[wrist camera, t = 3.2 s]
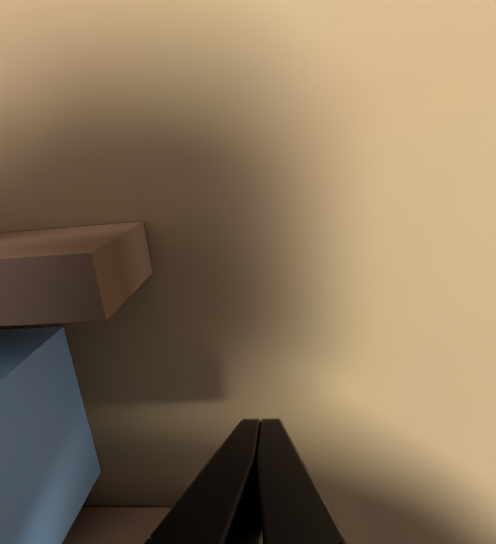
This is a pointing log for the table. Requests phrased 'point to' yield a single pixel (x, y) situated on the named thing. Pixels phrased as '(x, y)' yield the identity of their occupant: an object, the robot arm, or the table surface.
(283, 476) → the robot arm
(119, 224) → the brown rails
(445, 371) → the table surface
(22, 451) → the block
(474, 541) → the table surface
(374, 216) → the table surface
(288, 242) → the table surface
